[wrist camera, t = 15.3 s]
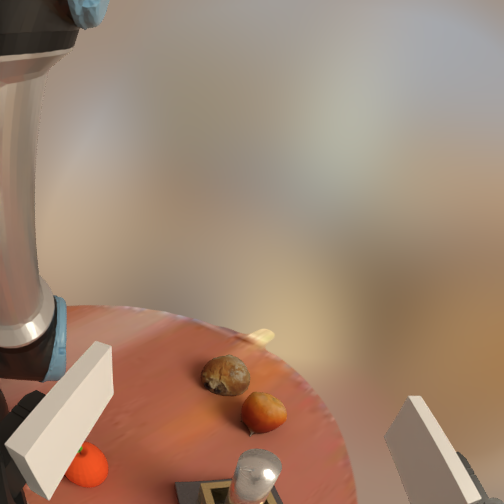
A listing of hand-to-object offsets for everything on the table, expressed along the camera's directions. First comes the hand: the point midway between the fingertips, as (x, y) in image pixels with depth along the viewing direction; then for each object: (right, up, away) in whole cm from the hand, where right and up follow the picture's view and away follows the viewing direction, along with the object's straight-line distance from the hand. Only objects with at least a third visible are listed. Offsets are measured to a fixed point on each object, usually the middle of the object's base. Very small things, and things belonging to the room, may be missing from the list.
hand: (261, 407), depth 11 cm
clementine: (-24, -25, +17) cm, 38 cm away
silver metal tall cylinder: (-2, -28, +17) cm, 33 cm away
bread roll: (-6, -21, +48) cm, 53 cm away
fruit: (+1, -25, +38) cm, 45 cm away
